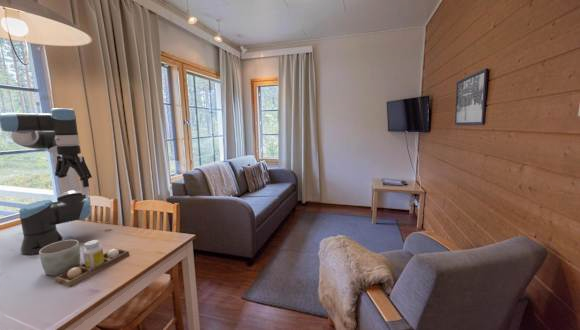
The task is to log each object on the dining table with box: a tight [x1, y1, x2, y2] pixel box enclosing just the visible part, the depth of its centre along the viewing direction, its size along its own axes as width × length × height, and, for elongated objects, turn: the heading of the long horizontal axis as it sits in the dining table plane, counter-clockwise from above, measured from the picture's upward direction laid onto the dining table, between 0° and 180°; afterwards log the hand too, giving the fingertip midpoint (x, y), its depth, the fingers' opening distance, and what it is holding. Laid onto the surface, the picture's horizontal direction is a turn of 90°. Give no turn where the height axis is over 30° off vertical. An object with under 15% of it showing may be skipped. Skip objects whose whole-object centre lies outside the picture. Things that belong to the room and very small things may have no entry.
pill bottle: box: [82, 239, 105, 269], centre depth 105 cm, size 6×6×12 cm
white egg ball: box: [106, 248, 119, 259], centre depth 113 cm, size 4×4×4 cm
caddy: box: [54, 247, 130, 288], centre depth 106 cm, size 9×24×2 cm, turn 161°
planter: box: [38, 239, 81, 277], centre depth 104 cm, size 12×12×11 cm
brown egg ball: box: [67, 266, 82, 279], centre depth 99 cm, size 4×4×4 cm
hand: (75, 192), depth 109 cm, fingers open, 13 cm apart
